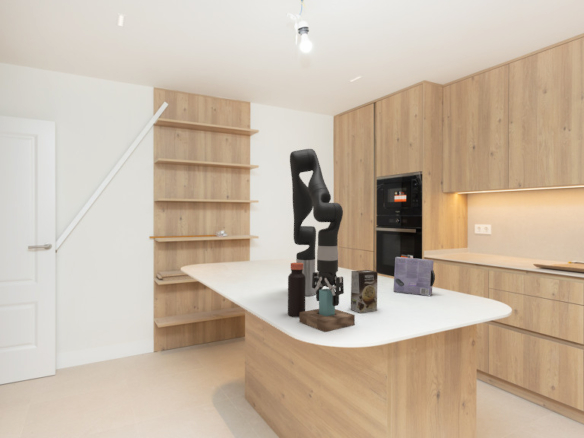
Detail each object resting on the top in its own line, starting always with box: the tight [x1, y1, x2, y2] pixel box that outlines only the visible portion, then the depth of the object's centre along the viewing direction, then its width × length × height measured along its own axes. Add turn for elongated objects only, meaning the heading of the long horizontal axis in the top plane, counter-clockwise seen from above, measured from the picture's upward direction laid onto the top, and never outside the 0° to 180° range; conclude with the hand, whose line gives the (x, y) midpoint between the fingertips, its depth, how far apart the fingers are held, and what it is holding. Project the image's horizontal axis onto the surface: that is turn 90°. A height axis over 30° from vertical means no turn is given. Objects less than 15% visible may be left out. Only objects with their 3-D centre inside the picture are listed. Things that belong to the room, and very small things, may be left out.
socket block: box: [298, 308, 356, 333], centre depth 134 cm, size 14×14×4 cm
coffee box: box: [350, 269, 379, 314], centre depth 153 cm, size 9×6×16 cm
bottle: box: [287, 262, 306, 318], centre depth 146 cm, size 7×7×20 cm
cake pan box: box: [393, 256, 436, 296], centre depth 187 cm, size 19×5×18 cm, turn 58°
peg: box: [318, 288, 336, 317], centre depth 134 cm, size 4×4×12 cm
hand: (327, 303), depth 134 cm, fingers open, 8 cm apart
